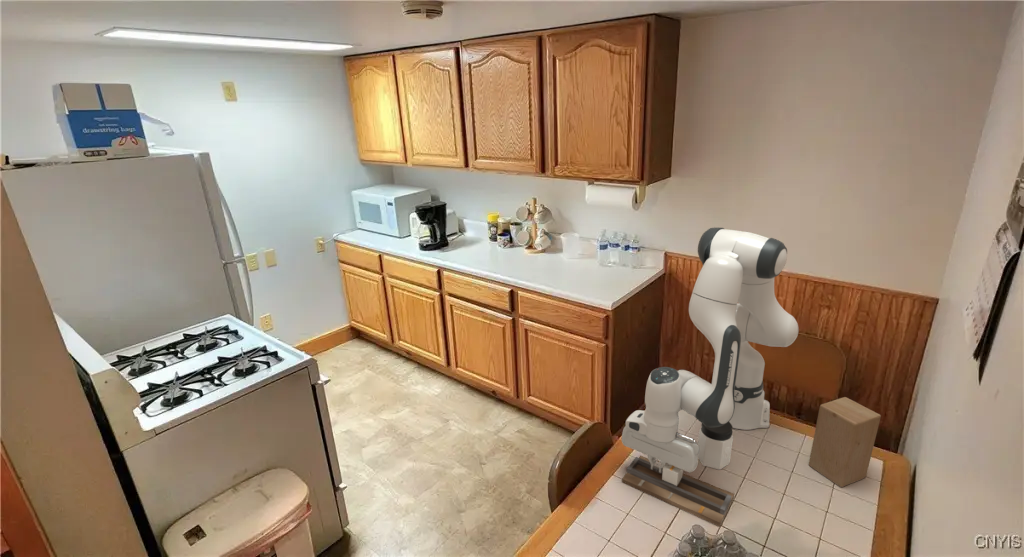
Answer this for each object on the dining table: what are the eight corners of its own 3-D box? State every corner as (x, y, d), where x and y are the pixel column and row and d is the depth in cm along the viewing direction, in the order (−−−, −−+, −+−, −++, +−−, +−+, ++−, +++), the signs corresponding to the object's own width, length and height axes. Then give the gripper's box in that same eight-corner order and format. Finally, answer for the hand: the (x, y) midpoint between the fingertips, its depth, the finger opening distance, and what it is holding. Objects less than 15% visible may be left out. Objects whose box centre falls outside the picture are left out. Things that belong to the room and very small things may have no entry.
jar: (715, 473, 139) (720, 437, 135) (691, 458, 145) (694, 422, 142) (734, 461, 144) (739, 425, 140) (710, 446, 150) (714, 412, 146)
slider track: (640, 458, 146) (640, 451, 145) (733, 497, 130) (734, 489, 129) (621, 482, 137) (622, 474, 136) (719, 526, 121) (721, 517, 120)
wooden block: (841, 488, 132) (855, 424, 126) (807, 465, 141) (819, 404, 135) (866, 477, 136) (882, 414, 130) (832, 455, 145) (845, 395, 138)
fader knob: (667, 475, 136) (668, 459, 135) (681, 481, 134) (683, 464, 132) (661, 484, 134) (663, 467, 132) (676, 490, 131) (677, 473, 129)
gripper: (704, 435, 128) (699, 479, 132) (630, 408, 140) (628, 449, 144) (695, 447, 123) (690, 493, 127) (620, 419, 135) (618, 461, 139)
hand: (656, 469), depth 136 cm, fingers closed
